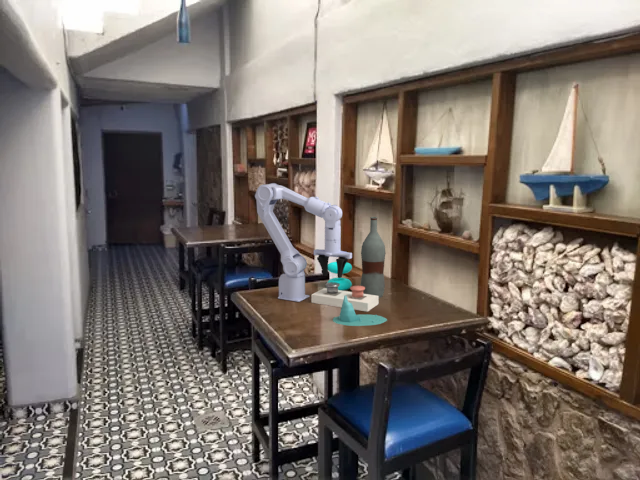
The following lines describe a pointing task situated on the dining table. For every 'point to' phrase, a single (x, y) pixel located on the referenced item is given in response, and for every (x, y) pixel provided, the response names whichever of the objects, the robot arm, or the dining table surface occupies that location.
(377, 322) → the teal witch hat
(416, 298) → the dining table surface
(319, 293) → the socket block
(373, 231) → the bottle
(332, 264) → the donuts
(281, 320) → the dining table surface
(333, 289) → the grey plug
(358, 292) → the red plug
